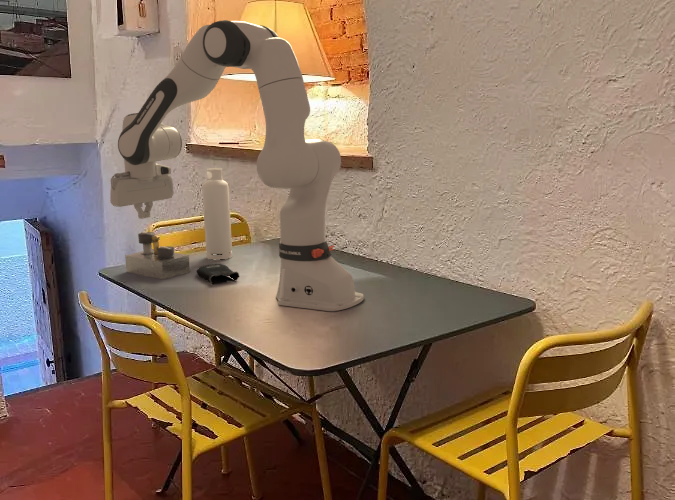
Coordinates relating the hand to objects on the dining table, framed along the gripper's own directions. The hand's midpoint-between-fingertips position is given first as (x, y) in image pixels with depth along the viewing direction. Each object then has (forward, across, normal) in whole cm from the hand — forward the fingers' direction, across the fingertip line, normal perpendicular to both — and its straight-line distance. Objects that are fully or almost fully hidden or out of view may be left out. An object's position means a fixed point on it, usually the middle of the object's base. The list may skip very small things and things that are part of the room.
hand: (144, 217), depth 201 cm
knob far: (+12, 0, 0) cm, 12 cm away
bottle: (+16, +23, -6) cm, 29 cm away
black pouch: (+16, +5, -23) cm, 29 cm away
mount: (+16, 0, -4) cm, 16 cm away
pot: (+11, 0, -4) cm, 11 cm away
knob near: (+15, 0, -8) cm, 17 cm away
